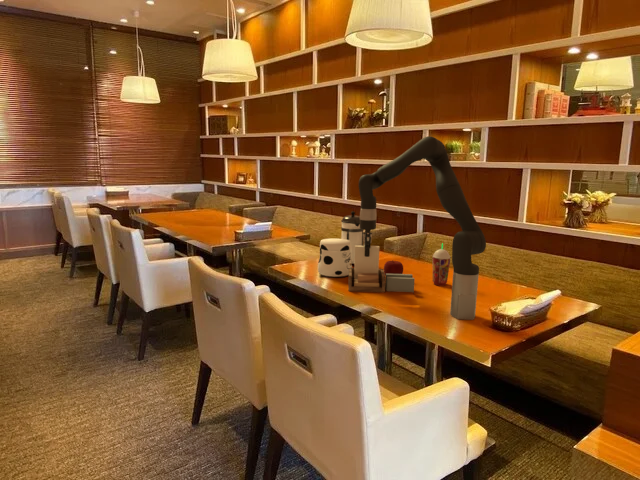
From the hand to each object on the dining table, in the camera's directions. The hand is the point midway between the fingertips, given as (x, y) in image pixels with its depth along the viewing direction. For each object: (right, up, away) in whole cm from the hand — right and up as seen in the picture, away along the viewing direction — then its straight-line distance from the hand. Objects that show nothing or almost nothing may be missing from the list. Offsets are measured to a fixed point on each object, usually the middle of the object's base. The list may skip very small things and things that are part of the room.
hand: (366, 255), depth 208 cm
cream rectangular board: (0, -11, +2) cm, 12 cm away
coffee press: (-5, -6, +48) cm, 49 cm away
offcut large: (-1, -15, -4) cm, 15 cm away
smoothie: (+36, -14, +10) cm, 40 cm away
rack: (-1, -15, -1) cm, 15 cm away
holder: (+14, -16, -3) cm, 22 cm away
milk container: (-14, -11, +21) cm, 28 cm away
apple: (+14, -13, +15) cm, 25 cm away
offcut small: (0, -11, -4) cm, 12 cm away
